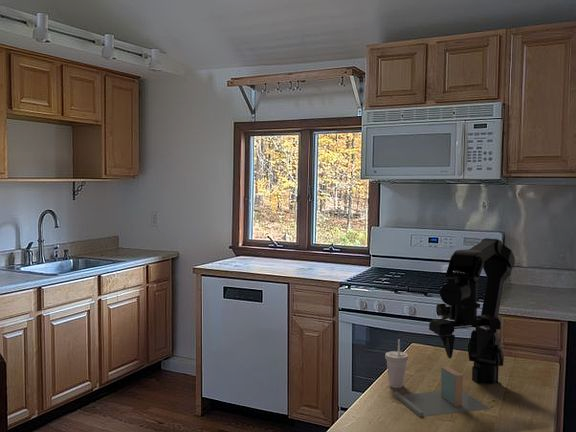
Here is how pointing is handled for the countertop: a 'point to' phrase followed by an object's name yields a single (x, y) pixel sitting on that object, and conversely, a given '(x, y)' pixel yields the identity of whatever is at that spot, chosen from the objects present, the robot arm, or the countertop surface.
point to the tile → (451, 386)
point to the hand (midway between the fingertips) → (464, 356)
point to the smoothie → (396, 367)
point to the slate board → (438, 403)
